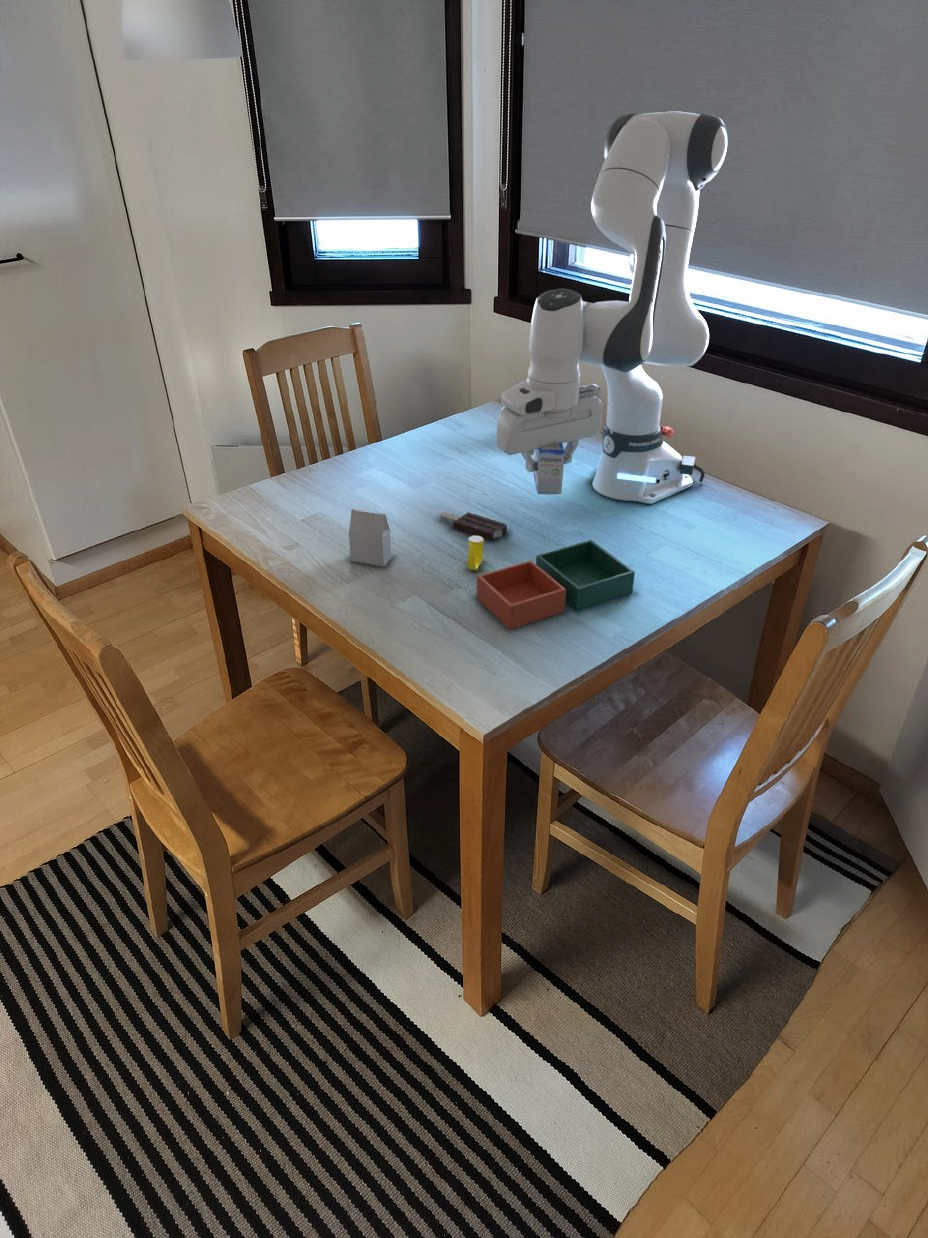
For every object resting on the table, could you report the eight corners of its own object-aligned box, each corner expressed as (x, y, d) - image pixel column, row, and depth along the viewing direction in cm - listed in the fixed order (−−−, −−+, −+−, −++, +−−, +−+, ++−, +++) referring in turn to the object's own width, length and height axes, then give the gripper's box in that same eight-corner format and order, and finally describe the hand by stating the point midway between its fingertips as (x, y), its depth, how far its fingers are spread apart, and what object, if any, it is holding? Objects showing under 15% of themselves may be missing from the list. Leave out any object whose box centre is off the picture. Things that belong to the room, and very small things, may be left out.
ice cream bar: (433, 522, 179) (495, 542, 172) (433, 515, 178) (495, 535, 171) (448, 512, 182) (509, 532, 175) (448, 505, 181) (509, 524, 175)
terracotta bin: (529, 581, 160) (530, 560, 157) (564, 611, 152) (566, 589, 149) (476, 597, 155) (476, 575, 153) (509, 629, 147) (510, 606, 145)
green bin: (588, 560, 166) (591, 539, 164) (632, 593, 157) (635, 571, 154) (535, 576, 161) (536, 555, 159) (576, 611, 152) (578, 589, 149)
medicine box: (533, 475, 162) (535, 431, 157) (557, 475, 162) (560, 431, 157) (537, 495, 156) (539, 449, 151) (562, 494, 156) (565, 449, 151)
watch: (478, 575, 161) (478, 547, 158) (463, 573, 162) (463, 545, 159) (486, 560, 166) (487, 532, 163) (472, 558, 167) (473, 530, 163)
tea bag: (383, 566, 164) (381, 519, 158) (350, 560, 166) (347, 513, 160) (391, 557, 167) (389, 510, 161) (358, 551, 169) (355, 505, 163)
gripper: (592, 376, 155) (585, 449, 163) (492, 395, 147) (491, 471, 155) (613, 387, 151) (605, 461, 159) (512, 407, 143) (509, 484, 151)
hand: (548, 466), depth 157 cm, fingers closed on medicine box, 6 cm apart
